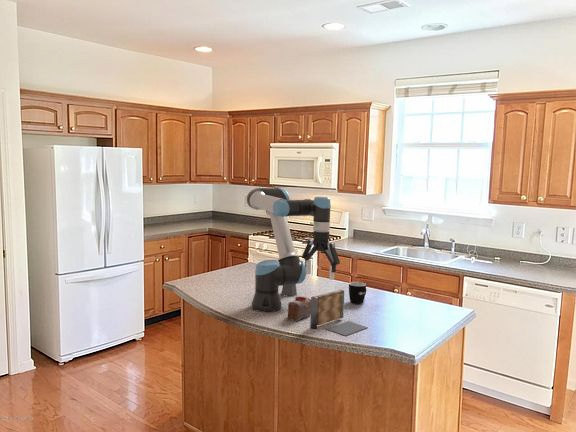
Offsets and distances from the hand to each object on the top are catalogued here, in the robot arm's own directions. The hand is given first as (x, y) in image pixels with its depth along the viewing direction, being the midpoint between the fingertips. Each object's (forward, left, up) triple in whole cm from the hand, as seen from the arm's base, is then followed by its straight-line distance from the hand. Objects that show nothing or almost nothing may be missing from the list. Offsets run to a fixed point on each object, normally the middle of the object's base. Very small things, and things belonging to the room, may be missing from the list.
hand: (319, 276), depth 214 cm
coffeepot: (-40, +22, -21) cm, 50 cm away
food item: (-9, -2, -21) cm, 23 cm away
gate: (+6, +1, -20) cm, 21 cm away
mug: (-6, +39, -21) cm, 44 cm away
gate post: (+6, -9, -21) cm, 24 cm away
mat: (+16, +2, -21) cm, 26 cm away
